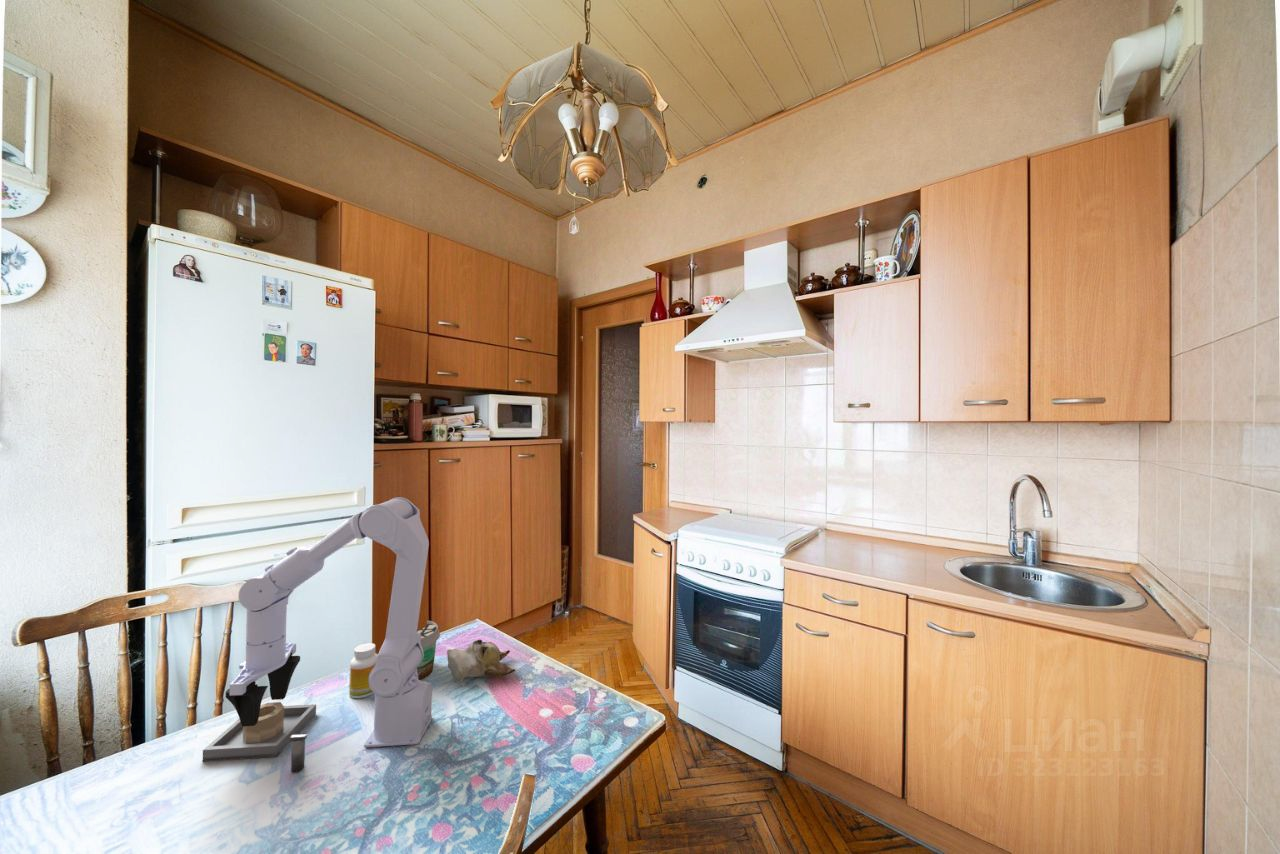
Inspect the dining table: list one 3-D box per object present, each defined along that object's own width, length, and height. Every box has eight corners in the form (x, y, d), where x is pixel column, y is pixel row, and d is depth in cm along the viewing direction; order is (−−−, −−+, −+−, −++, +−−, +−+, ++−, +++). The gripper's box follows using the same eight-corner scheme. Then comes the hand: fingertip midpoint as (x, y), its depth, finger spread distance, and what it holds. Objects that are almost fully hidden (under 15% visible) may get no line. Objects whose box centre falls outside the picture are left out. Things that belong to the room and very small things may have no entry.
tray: (315, 714, 89) (316, 704, 89) (276, 757, 78) (277, 745, 78) (252, 717, 88) (252, 707, 88) (202, 761, 76) (202, 749, 76)
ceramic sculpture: (447, 632, 107) (511, 626, 113) (444, 669, 107) (508, 661, 113) (448, 654, 97) (518, 646, 103) (444, 694, 97) (514, 684, 103)
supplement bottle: (380, 693, 97) (381, 648, 97) (351, 702, 94) (352, 656, 94) (375, 681, 101) (376, 639, 101) (347, 690, 98) (348, 646, 98)
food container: (415, 691, 98) (416, 646, 98) (390, 687, 99) (392, 642, 99) (449, 662, 110) (451, 622, 110) (427, 659, 111) (429, 619, 111)
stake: (307, 764, 76) (308, 731, 76) (301, 772, 75) (302, 739, 75) (293, 765, 76) (294, 732, 76) (287, 773, 74) (288, 739, 74)
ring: (289, 722, 86) (289, 701, 86) (269, 742, 81) (270, 720, 81) (258, 724, 85) (258, 703, 85) (236, 744, 80) (237, 721, 80)
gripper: (269, 621, 90) (268, 689, 90) (210, 659, 75) (208, 739, 75) (308, 620, 91) (306, 687, 91) (256, 657, 76) (254, 737, 76)
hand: (264, 711), depth 83 cm, fingers open, 7 cm apart
